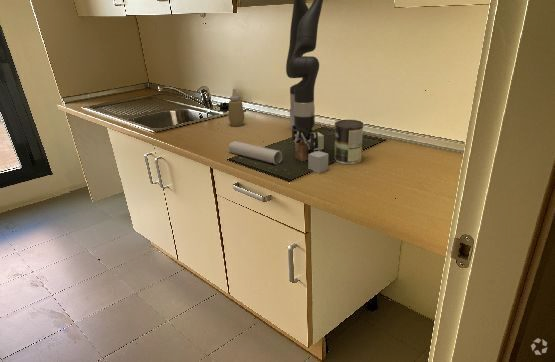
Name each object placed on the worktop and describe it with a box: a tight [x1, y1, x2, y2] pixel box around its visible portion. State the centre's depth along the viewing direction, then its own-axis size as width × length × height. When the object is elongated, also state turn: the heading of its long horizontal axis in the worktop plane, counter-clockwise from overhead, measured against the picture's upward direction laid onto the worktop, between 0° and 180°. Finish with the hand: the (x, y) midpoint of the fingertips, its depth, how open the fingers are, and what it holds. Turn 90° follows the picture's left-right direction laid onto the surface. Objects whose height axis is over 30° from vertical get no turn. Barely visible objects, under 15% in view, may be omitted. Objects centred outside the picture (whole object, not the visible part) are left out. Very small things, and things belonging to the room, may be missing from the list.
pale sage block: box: [308, 131, 325, 152], centre depth 156 cm, size 5×5×6 cm
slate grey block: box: [307, 150, 329, 174], centre depth 136 cm, size 5×5×6 cm
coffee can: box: [333, 119, 364, 165], centre depth 142 cm, size 10×10×14 cm
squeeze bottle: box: [228, 88, 245, 127], centre depth 190 cm, size 8×8×18 cm
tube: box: [228, 140, 283, 165], centre depth 150 cm, size 5×5×25 cm
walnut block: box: [294, 141, 311, 162], centre depth 146 cm, size 5×5×6 cm
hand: (304, 154), depth 147 cm, fingers open, 8 cm apart
